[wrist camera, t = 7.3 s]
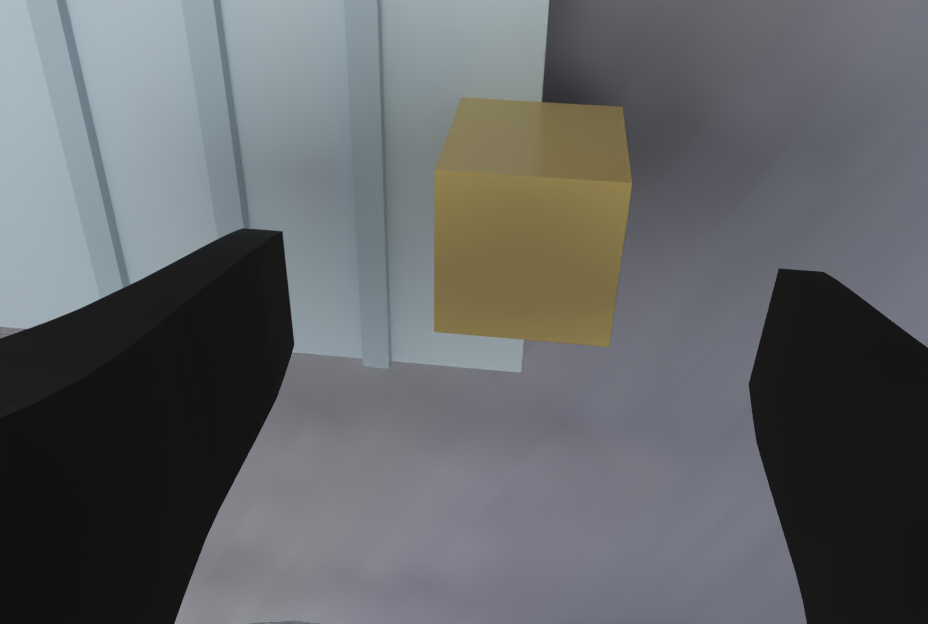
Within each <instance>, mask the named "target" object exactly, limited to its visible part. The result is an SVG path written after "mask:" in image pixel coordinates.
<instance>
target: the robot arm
mask: <svg viewBox="0 0 928 624" xmlns="http://www.w3.org/2000/svg"><path fill="white" fill-rule="evenodd" d="M293 348H294V336H293V326H292V317H291V307H290V298H289V288H288V279H287V269H286V260H285V250H284V241H283V232H282V231H274V230H261V229H248V228H242V229H239V230H237V231H234V232H232V233H229V234H227V235H225V236H223V237H221V238H219V239H217V240H215V241H213V242H211V243H209V244H207V245H205V246H203V247H201V248H200V249H198V250H196V251H194V252H192V253H190V254H188V255H186V256H185V257H183V258H181V259H179V260H177V261H175V262H173V263H171V264H169V265H168V266H166V267H164V268H162V269H160V270H158V271H156V272H154V273H152V274H151V275H149V276H147V277H145V278H143V279H141V280H139V281H137V282H135V283H132V284H130V285H128V286H126V287H124V288H122V289H120V290H118V291H116V292H114V293H112V294H109V295H107V296H105V297H103V298H101V299H99V300H97V301H95V302H93V303H91V304H89V305H86V306H84V307H82V308H80V309H77V310H75V311H73V312H70V313H68V314H65V315H63V316H60V317H58V318H56V319H53V320H50V321H48V322H45V323H42V324H40V325H37V326H34V327H32V328H29V329H26V330H24V331H21V332H18V333H15V334H12V335H9V336H7V337H4V338H0V624H174V623H175V620H176V617H177V614H178V612H179V609H180V606H181V603H182V600H183V597H184V595H185V592H186V589H187V587H188V584H189V581H190V579H191V576H192V574H193V571H194V568H195V566H196V563H197V560H198V558H199V555H200V553H201V550H202V547H203V545H204V542H205V539H206V537H207V535H208V533H209V530H210V528H211V526H212V524H213V522H214V520H215V517H216V515H217V513H218V511H219V509H220V507H221V505H222V503H223V501H224V499H225V497H226V496H227V494H228V492H229V490H230V488H231V486H232V484H233V482H234V480H235V478H236V476H237V474H238V472H239V471H240V469H241V467H242V465H243V463H244V461H245V459H246V457H247V455H248V453H249V451H250V449H251V448H252V446H253V444H254V442H255V440H256V438H257V436H258V434H259V432H260V430H261V428H262V426H263V424H264V422H265V420H266V418H267V416H268V414H269V412H270V410H271V408H272V406H273V404H274V402H275V400H276V398H277V396H278V393H279V390H280V387H281V384H282V381H283V379H284V376H285V373H286V370H287V367H288V363H289V360H290V357H291V354H292V351H293ZM749 390H750V398H751V406H752V414H753V421H754V427H755V434H756V440H757V445H758V448H759V452H760V456H761V459H762V462H763V466H764V469H765V473H766V476H767V479H768V483H769V486H770V490H771V493H772V496H773V499H774V503H775V506H776V509H777V513H778V516H779V519H780V522H781V526H782V529H783V532H784V535H785V539H786V542H787V545H788V549H789V552H790V555H791V558H792V562H793V565H794V568H795V572H796V575H797V579H798V583H799V587H800V591H801V595H802V599H803V604H804V609H805V615H806V620H807V624H928V348H927V347H926V346H924V345H923V344H922V343H920V342H919V341H918V340H916V339H915V338H913V337H912V336H911V335H909V334H908V333H907V332H905V331H904V330H903V329H901V328H900V327H899V326H897V325H896V324H895V323H893V322H892V321H891V320H889V319H888V318H887V317H886V316H884V315H883V314H882V313H880V312H879V311H878V310H876V309H875V308H874V307H872V306H871V305H870V304H869V303H867V302H866V301H865V300H863V299H862V298H861V297H859V296H858V295H857V294H855V293H854V292H853V291H851V290H850V289H849V288H847V287H846V286H844V285H843V284H842V283H840V282H839V281H837V280H836V279H834V278H833V277H831V276H829V275H828V274H826V273H824V272H817V271H804V270H790V269H779V270H778V274H777V278H776V282H775V286H774V289H773V293H772V297H771V301H770V305H769V309H768V313H767V316H766V320H765V324H764V328H763V332H762V336H761V339H760V343H759V347H758V351H757V355H756V359H755V363H754V366H753V370H752V374H751V378H750V382H749ZM252 624H318V623H309V622H301V621H285V622H268V623H252Z"/></svg>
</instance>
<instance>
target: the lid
mask: <svg viewBox="0 0 928 624" xmlns="http://www.w3.org/2000/svg"><path fill="white" fill-rule="evenodd" d="M549 4H550V0H0V327H11V328H23V329H29V328H32V327H34V326H37V325H40V324H42V323H45V322H48V321H50V320H53V319H56V318H58V317H60V316H63V315H65V314H68V313H70V312H73V311H75V310H77V309H80V308H82V307H84V306H86V305H89V304H91V303H93V302H95V301H97V300H99V299H101V298H103V297H105V296H107V295H109V294H112V293H114V292H116V291H118V290H120V289H122V288H124V287H126V286H128V285H130V284H132V283H135V282H137V281H139V280H141V279H143V278H145V277H147V276H149V275H151V274H152V273H154V272H156V271H158V270H160V269H162V268H164V267H166V266H168V265H169V264H171V263H173V262H175V261H177V260H179V259H181V258H183V257H185V256H186V255H188V254H190V253H192V252H194V251H196V250H198V249H200V248H201V247H203V246H205V245H207V244H209V243H211V242H213V241H215V240H217V239H219V238H221V237H223V236H225V235H227V234H229V233H232V232H234V231H237V230H239V229H242V228H248V229H261V230H274V231H282V232H283V241H284V250H285V260H286V269H287V279H288V288H289V298H290V307H291V317H292V326H293V336H294V348H293V351H292V352H293V353H305V354H316V355H327V356H338V357H350V358H361V359H363V367H373V368H385V369H389V367H390V364H391V361H395V362H406V363H417V364H429V365H440V366H451V367H462V368H474V369H485V370H496V371H508V372H519V373H521V371H522V361H523V351H524V340H533V341H545V342H556V343H568V344H580V345H592V346H603V347H609V344H610V337H611V330H612V323H613V316H614V309H615V302H616V295H617V288H618V281H619V274H620V267H621V260H622V253H623V245H624V238H625V231H626V224H627V217H628V210H629V203H630V196H631V189H632V177H631V169H630V161H629V153H628V145H627V138H626V130H625V122H624V114H623V107H615V106H599V105H582V104H565V103H549V102H542V97H543V84H544V71H545V57H546V44H547V31H548V17H549Z"/></svg>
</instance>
